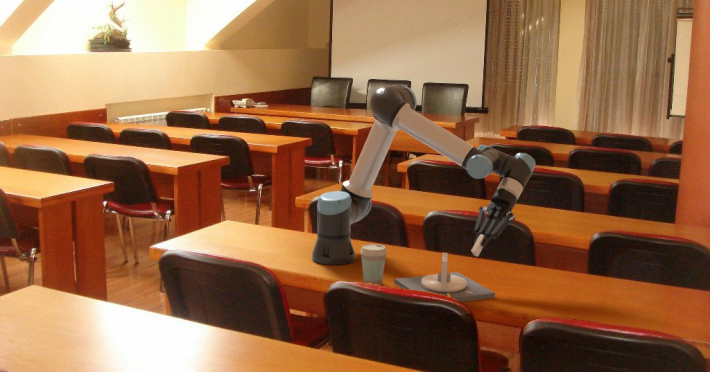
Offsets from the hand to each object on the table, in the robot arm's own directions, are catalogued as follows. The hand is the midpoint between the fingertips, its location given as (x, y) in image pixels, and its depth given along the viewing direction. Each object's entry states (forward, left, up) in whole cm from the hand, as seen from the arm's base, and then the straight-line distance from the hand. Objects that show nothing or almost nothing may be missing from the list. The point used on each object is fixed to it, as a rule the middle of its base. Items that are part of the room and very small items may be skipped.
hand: (474, 253), depth 248 cm
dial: (0, -11, -10) cm, 14 cm away
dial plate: (-1, -10, -11) cm, 15 cm away
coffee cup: (-15, -28, -11) cm, 34 cm away
